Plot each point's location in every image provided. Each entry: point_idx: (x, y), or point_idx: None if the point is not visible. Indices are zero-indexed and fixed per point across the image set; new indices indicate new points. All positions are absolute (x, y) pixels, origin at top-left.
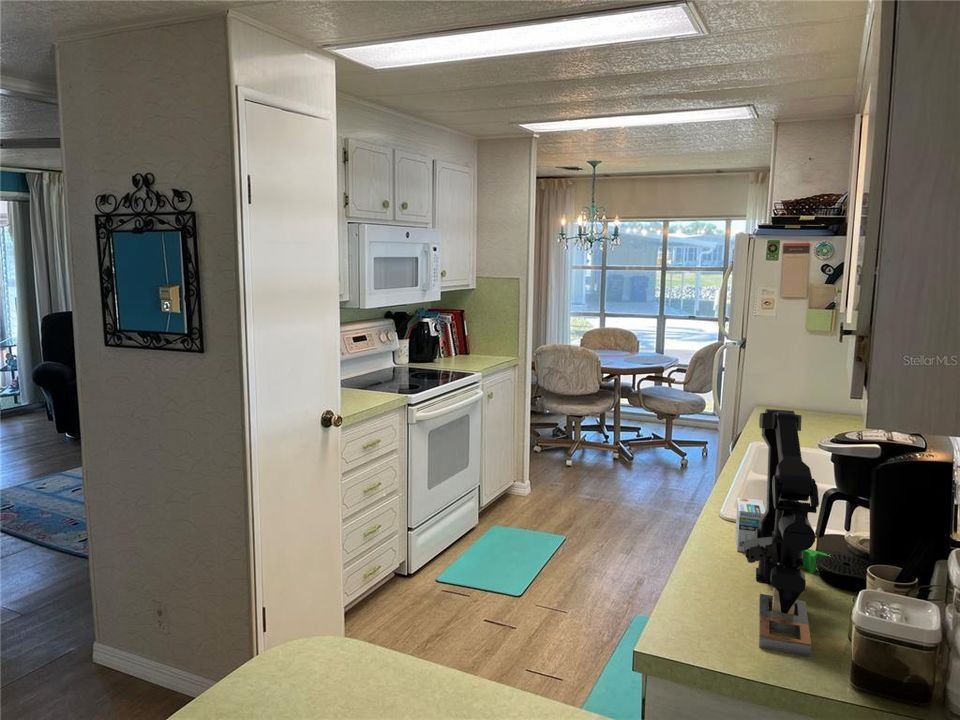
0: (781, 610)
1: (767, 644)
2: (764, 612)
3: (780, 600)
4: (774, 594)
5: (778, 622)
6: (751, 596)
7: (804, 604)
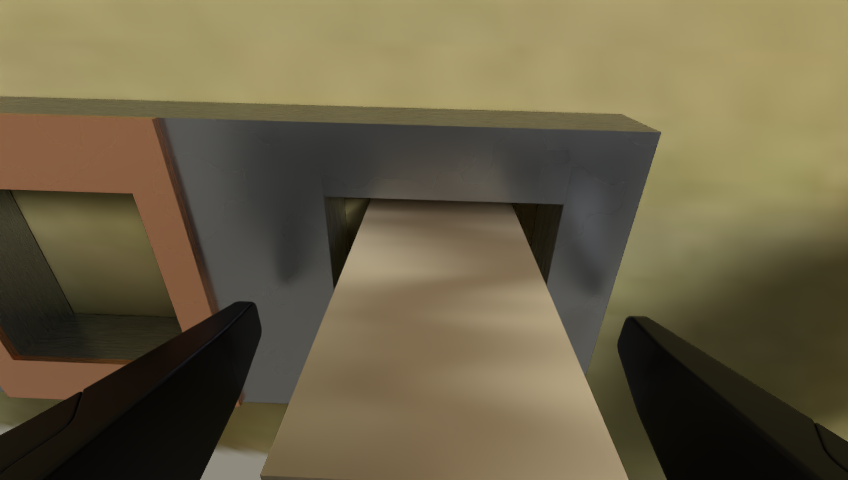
0: (223, 312)
1: None
2: (273, 160)
3: (98, 386)
4: (325, 321)
5: (159, 255)
6: (734, 46)
7: None
